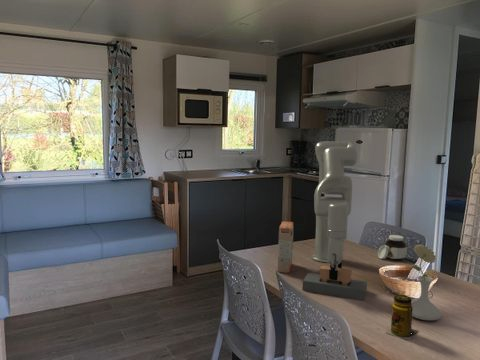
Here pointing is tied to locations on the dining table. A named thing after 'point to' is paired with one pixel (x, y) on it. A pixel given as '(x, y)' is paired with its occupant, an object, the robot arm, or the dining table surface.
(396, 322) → the condiment
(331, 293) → the gray socket block
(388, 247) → the spread jar
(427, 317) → the flower in vase
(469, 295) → the dining table surface
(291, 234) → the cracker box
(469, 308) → the dining table surface
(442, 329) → the dining table surface
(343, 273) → the clip
